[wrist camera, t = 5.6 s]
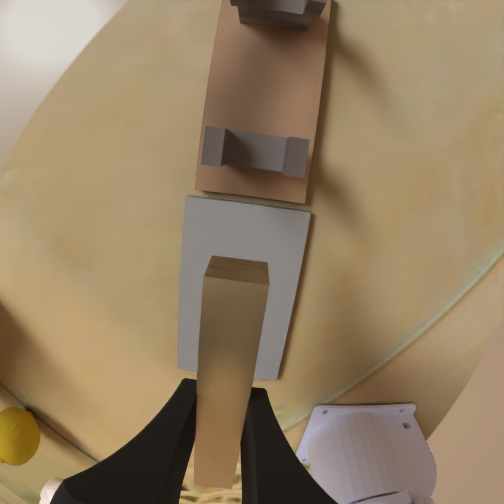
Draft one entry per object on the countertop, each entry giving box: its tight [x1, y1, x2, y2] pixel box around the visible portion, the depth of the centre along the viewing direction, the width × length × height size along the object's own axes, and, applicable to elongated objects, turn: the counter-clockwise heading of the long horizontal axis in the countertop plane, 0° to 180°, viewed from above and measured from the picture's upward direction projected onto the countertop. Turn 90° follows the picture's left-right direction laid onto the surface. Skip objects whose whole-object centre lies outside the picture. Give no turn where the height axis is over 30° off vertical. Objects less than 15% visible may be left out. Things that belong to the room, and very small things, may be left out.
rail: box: [194, 255, 270, 489], centre depth 11 cm, size 2×11×2 cm, turn 173°
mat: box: [178, 195, 311, 381], centre depth 20 cm, size 7×12×1 cm, turn 172°
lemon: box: [0, 407, 40, 466], centre depth 22 cm, size 6×6×8 cm
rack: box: [195, 0, 331, 204], centre depth 14 cm, size 6×13×5 cm, turn 172°
